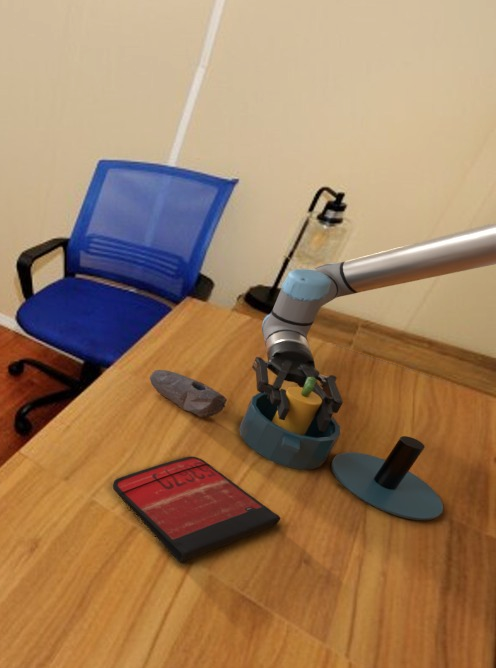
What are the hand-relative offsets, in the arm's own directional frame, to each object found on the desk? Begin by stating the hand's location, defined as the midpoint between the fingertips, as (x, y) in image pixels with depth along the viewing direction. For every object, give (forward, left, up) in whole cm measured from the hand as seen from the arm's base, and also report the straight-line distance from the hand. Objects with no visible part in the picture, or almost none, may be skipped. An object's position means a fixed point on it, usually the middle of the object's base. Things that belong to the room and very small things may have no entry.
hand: (304, 419), depth 93 cm
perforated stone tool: (+19, -6, -11) cm, 22 cm away
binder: (+13, +23, -11) cm, 28 cm away
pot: (+1, -5, -10) cm, 12 cm away
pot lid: (-14, -3, -10) cm, 18 cm away
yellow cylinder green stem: (+1, -5, -7) cm, 9 cm away
